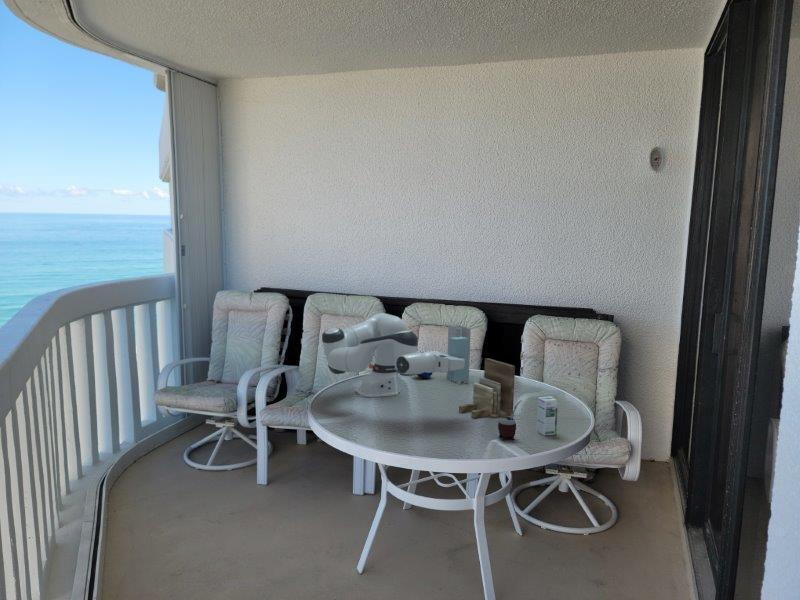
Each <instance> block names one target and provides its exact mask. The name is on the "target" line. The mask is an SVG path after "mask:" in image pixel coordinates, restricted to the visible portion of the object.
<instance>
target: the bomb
mask: <svg viewBox="0 0 800 600" xmlns="http://www.w3.org/2000/svg"><path fill="white" fill-rule="evenodd" d="M423 352H424V351H422V352H421V353H423ZM433 373H434V372H431V373H426V372H423V373H421V374H416V375H417V376H418V377H419V378H420V379H428V378H430V377H431V376H432V375H433ZM416 375H415V376H416Z"/></svg>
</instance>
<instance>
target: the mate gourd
mask: <svg viewBox="0 0 800 600" xmlns="http://www.w3.org/2000/svg"><path fill="white" fill-rule="evenodd" d="M521 402H522V399H521V400H520V401H518V402H517V403H516V404H515V405H514V406H513V414H512V415H510V416H503V417H499V420H498V422H497V423H498V424H497V429H498V434H499V435H498V437H499V438H502V441H506V440H508V441H509V440H510V441H515V435H516V430H517V422H516V419H515V418H514V415H515V413H516V409H517V407H518V406H519V404H520V403H521Z"/></svg>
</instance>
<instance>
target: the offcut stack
mask: <svg viewBox="0 0 800 600" xmlns="http://www.w3.org/2000/svg"><path fill="white" fill-rule="evenodd" d="M472 389H473V391H472V392H473V393H472V394H473V395H472V403H474V404H476V408H478V409H484V408H487V409H489V413H490V414H491V413H498V412H500V396H501V383H498V382H495V381H492V380H489V379H486V378H484V377H483V376H481V377H479V383H477V382H473V388H472Z"/></svg>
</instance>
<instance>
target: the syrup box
mask: <svg viewBox="0 0 800 600" xmlns="http://www.w3.org/2000/svg"><path fill="white" fill-rule="evenodd" d="M558 405H559V403H558V399H557V398H556V397H553V396H538V398H537V417H536V423H537V424H536V432H537V433H538V434H540V435H541V436H544V437H546V436H555V435H558V434H557V430H558V429H557V428H558V409H559V408H558Z"/></svg>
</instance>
